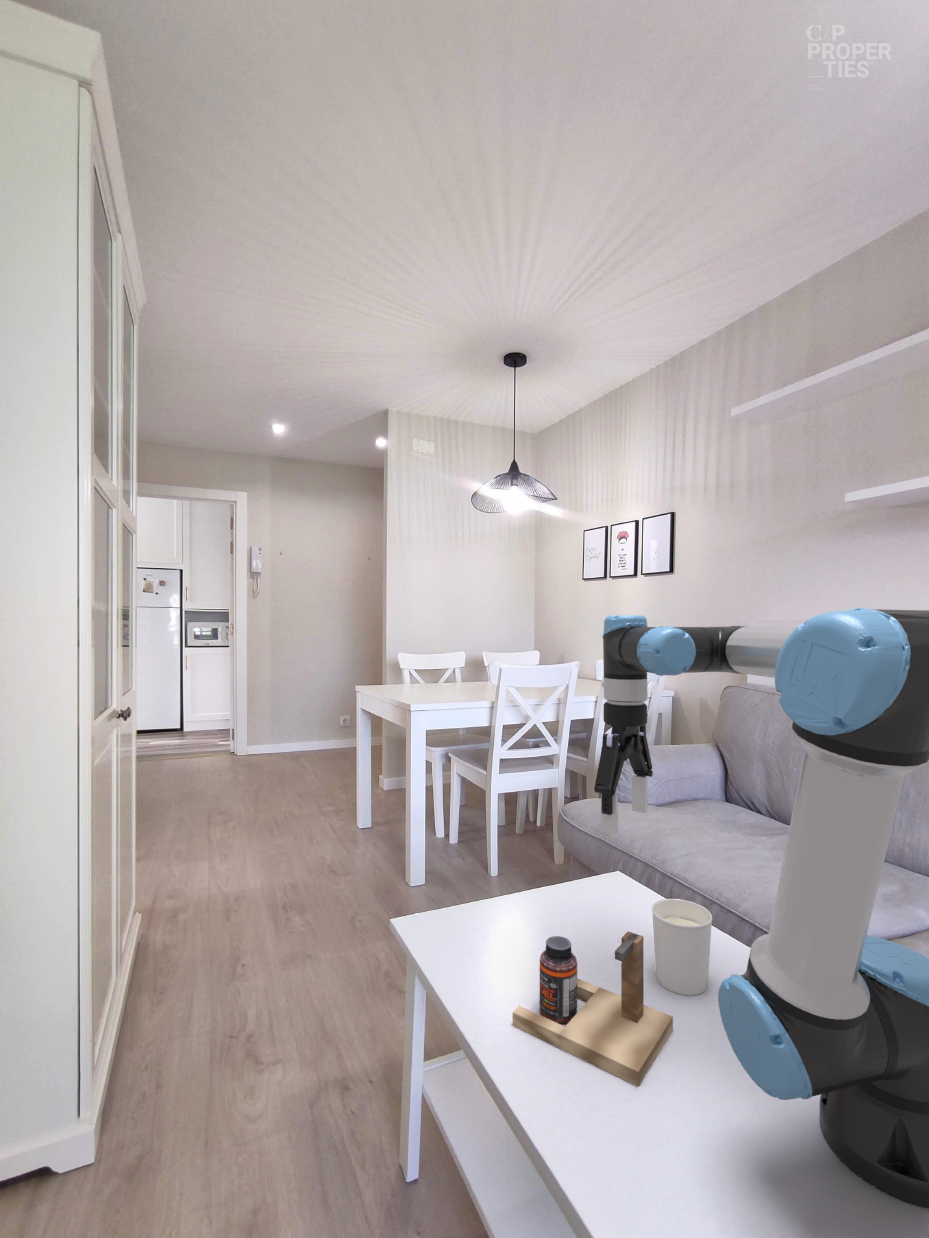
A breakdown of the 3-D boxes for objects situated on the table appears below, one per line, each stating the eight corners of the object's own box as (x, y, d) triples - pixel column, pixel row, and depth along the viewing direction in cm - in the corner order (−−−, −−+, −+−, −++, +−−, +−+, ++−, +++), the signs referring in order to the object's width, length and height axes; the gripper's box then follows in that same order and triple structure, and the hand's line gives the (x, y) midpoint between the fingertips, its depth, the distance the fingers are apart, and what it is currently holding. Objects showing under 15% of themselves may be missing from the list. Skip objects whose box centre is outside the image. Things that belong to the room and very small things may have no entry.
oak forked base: (672, 1029, 91) (672, 1016, 91) (638, 1086, 80) (638, 1071, 80) (556, 981, 103) (556, 969, 103) (512, 1025, 92) (512, 1012, 92)
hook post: (643, 1014, 92) (643, 936, 92) (627, 1037, 87) (626, 955, 87) (627, 1008, 93) (627, 931, 93) (610, 1030, 88) (610, 949, 88)
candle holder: (717, 1002, 98) (717, 929, 98) (655, 994, 100) (655, 923, 100) (706, 968, 107) (706, 901, 107) (649, 961, 109) (649, 896, 109)
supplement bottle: (531, 1011, 95) (531, 941, 95) (555, 995, 99) (555, 928, 99) (561, 1030, 91) (561, 956, 91) (584, 1013, 95) (584, 942, 95)
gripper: (631, 693, 118) (631, 800, 118) (573, 708, 99) (573, 837, 99) (669, 696, 114) (669, 807, 114) (616, 712, 94) (616, 847, 94)
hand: (625, 821), depth 106 cm, fingers open, 13 cm apart
